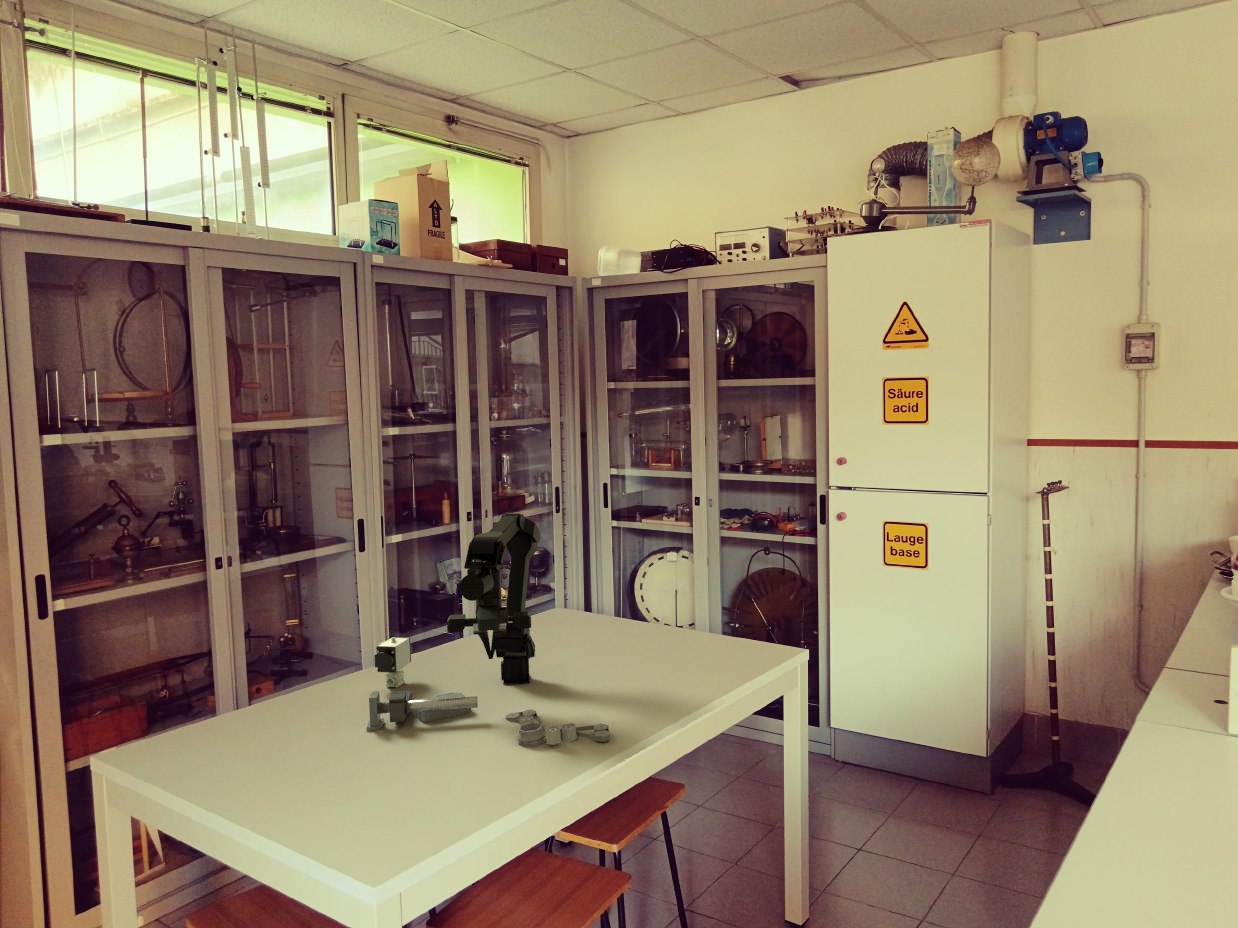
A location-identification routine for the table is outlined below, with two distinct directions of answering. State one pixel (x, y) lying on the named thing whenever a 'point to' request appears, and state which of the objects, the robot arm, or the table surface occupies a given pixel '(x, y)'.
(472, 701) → the linear shaft assembly
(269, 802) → the table surface
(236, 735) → the table surface
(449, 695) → the stone block
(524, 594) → the robot arm
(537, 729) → the pulley system
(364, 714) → the table surface
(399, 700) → the collar
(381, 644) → the pneumatic valve
